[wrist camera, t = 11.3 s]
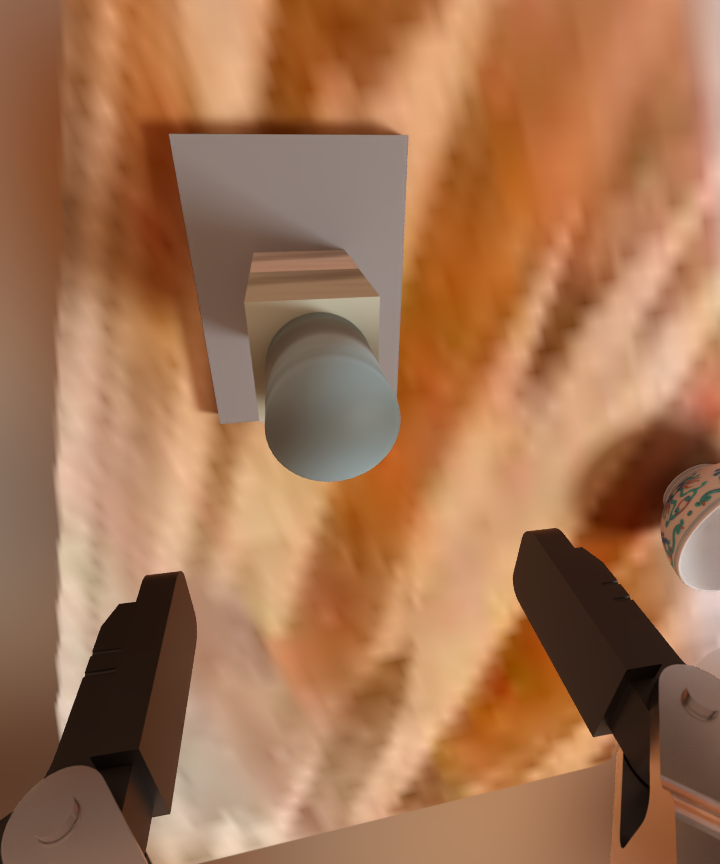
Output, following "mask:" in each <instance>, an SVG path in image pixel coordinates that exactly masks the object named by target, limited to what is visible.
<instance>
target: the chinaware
mask: <svg viewBox="0 0 720 864" xmlns="http://www.w3.org/2000/svg"><path fill="white" fill-rule="evenodd" d="M663 504H664V506H665V507H664V509H663V513H662V518H661V538H662V542H663V546H664V549H665V552H666V555H667V557H668V559H669V561H670V563H671V565H672V567H673V568H674V570H675V572H676V573H677V575H678V576H679V578H680V579H681V580H682V581H683V582H684V583H685V584H686V585H687V586H689V587H690V588H693V589H695V590H699V591H705V592H717V591H720V463H718V464H714V465H713V464H700V465H696V466H693V467H691V468H689V469H687V470H685V471H683V472H682V473H680V474H679V475H678V476H677V477H676V478H675V479H674V480H673V481H672V482H671V483H670V484H669V486H668V487H667V489H666V491H665V493H664V496H663Z"/></svg>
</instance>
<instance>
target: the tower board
mask: <svg viewBox="0 0 720 864" xmlns="http://www.w3.org/2000/svg"><path fill="white" fill-rule="evenodd" d="M169 138H170V144H171V149H172V155H173V161H174V166H175V172H176V178H177V183H178V189H179V195H180V200H181V206H182V211H183V217H184V223H185V228H186V234H187V240H188V245H189V251H190V257H191V262H192V268H193V273H194V279H195V285H196V290H197V296H198V302H199V307H200V313H201V318H202V324H203V330H204V335H205V341H206V347H207V352H208V358H209V364H210V369H211V375H212V380H213V386H214V392H215V397H216V403H217V409H218V414H219V420H220V424H225V423H238V422H251V421H259V415H258V407H257V399H256V391H255V384H254V376H253V368H252V360H251V352H250V344H249V337H248V329H247V321H246V313H245V305H244V300H245V295H246V289H247V284H248V278H249V273H250V269H251V263H252V258H253V253H254V252H288V251H322V250H345V251H346V252H347V253H348V255H349V256H350V257H351V259H352V260H353V261H354V263H355V264H356V265H357V267H358V268H359V270H360V271H361V272H362V274H363V275H364V276H365V277H366V279H367V280H368V281H369V283H370V284H371V285H372V287H373V288H374V289H375V291H376V292H377V293H378V295H379V296H380V317H379V366H380V368H381V370H382V372H383V373H384V375H385V377H386V379H387V381H388V383H389V385H390V387H391V389H392V391H393V393H394V395H395V397H396V399H397V379H398V356H399V334H400V311H401V289H402V267H403V244H404V222H405V200H406V177H407V155H408V135H295V134H169Z"/></svg>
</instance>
